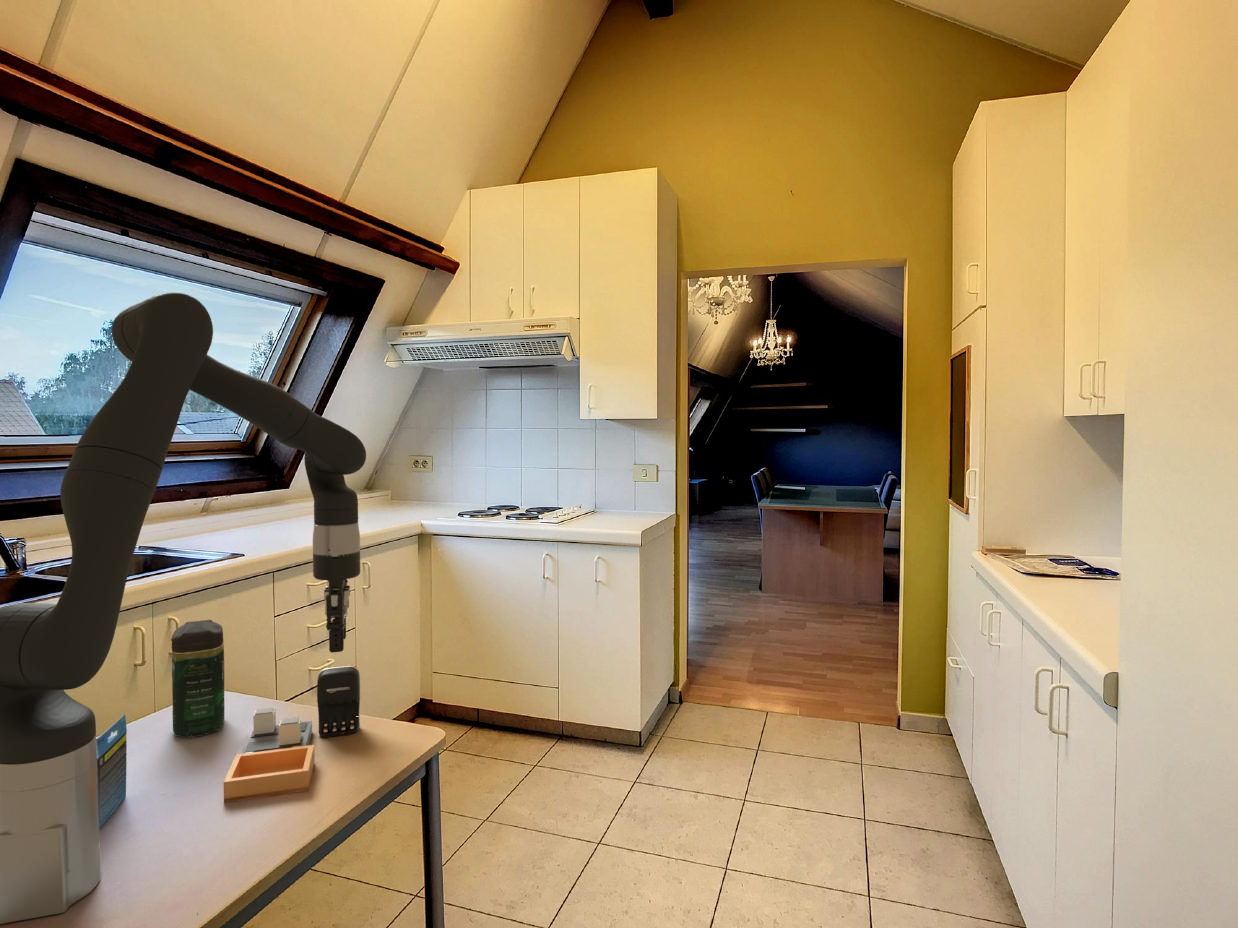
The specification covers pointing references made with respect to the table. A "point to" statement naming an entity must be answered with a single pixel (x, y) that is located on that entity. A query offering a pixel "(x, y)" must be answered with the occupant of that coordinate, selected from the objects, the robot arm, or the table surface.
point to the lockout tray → (269, 773)
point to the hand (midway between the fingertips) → (337, 644)
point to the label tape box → (111, 769)
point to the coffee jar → (197, 678)
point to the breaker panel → (277, 740)
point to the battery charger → (338, 700)
